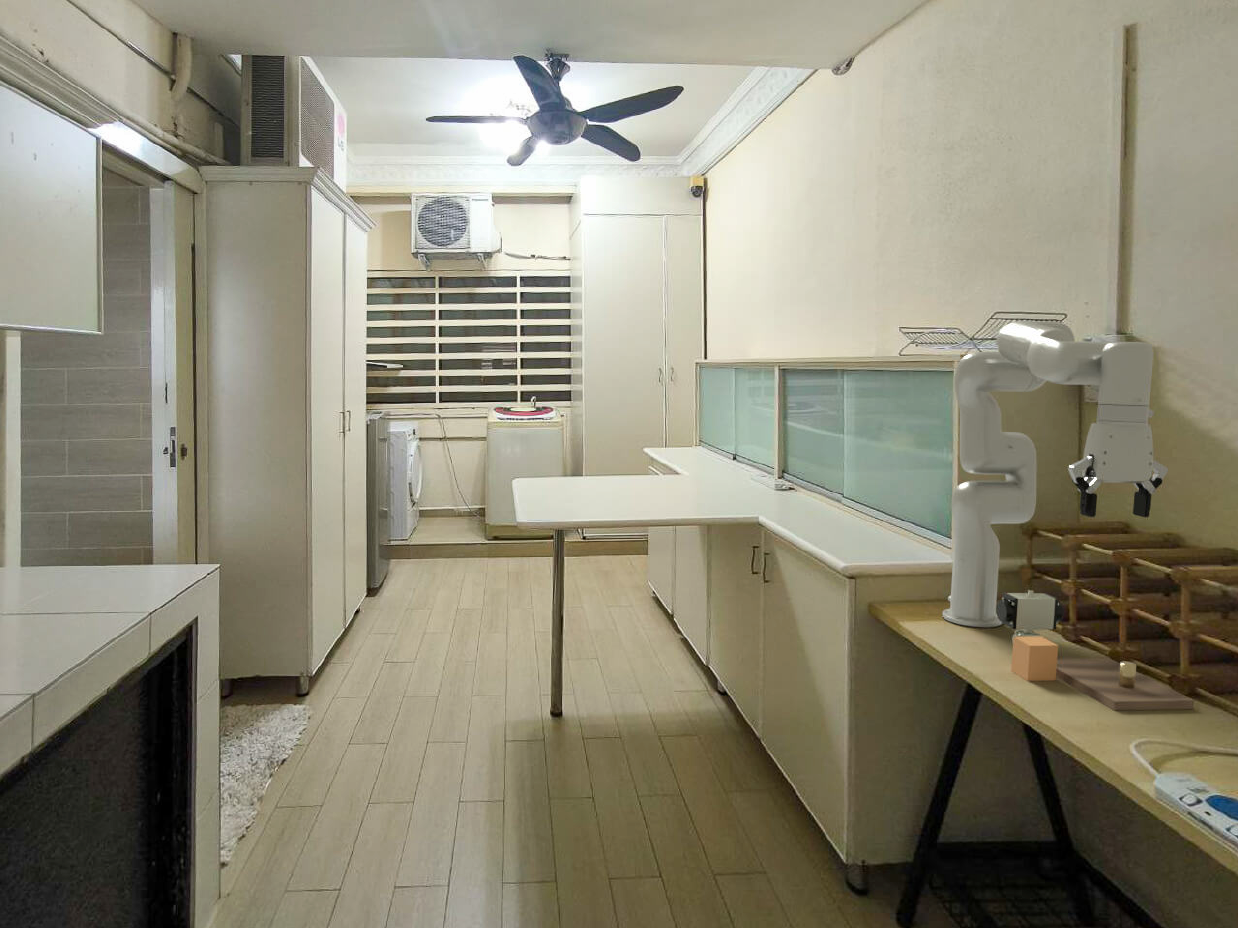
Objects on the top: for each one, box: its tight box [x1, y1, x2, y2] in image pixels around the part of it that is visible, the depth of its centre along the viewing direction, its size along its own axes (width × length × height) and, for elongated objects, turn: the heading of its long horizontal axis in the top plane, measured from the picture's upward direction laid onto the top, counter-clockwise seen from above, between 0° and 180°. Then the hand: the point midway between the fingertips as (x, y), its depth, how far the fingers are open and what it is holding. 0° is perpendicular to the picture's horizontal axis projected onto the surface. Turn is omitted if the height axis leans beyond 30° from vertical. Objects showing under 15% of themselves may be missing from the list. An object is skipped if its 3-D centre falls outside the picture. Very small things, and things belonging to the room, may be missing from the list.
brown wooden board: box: [1056, 657, 1195, 711], centre depth 156 cm, size 22×14×6 cm, turn 6°
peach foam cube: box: [1010, 635, 1059, 682], centre depth 160 cm, size 5×5×6 cm
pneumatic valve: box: [995, 589, 1064, 643], centre depth 177 cm, size 6×12×12 cm, turn 93°
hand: (1114, 515), depth 149 cm, fingers open, 9 cm apart
